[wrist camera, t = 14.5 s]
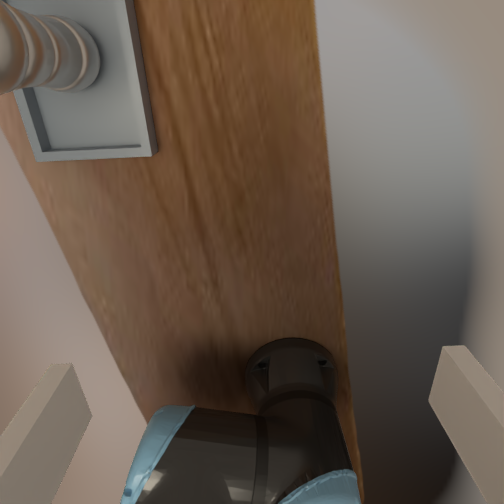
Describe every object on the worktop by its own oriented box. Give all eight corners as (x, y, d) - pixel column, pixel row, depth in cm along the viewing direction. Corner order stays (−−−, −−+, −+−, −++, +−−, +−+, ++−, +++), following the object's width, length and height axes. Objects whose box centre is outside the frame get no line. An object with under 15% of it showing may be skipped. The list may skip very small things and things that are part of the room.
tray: (158, 151, 40) (151, 156, 38) (50, 156, 40) (36, 161, 38) (121, -70, 31) (110, -84, 29) (-17, -62, 31) (-42, -76, 29)
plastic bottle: (120, 68, 35) (-8, 52, 18) (72, 105, 37) (-90, 124, 19) (75, 4, 33) (-127, -91, 15) (27, 46, 34) (-210, 5, 17)
